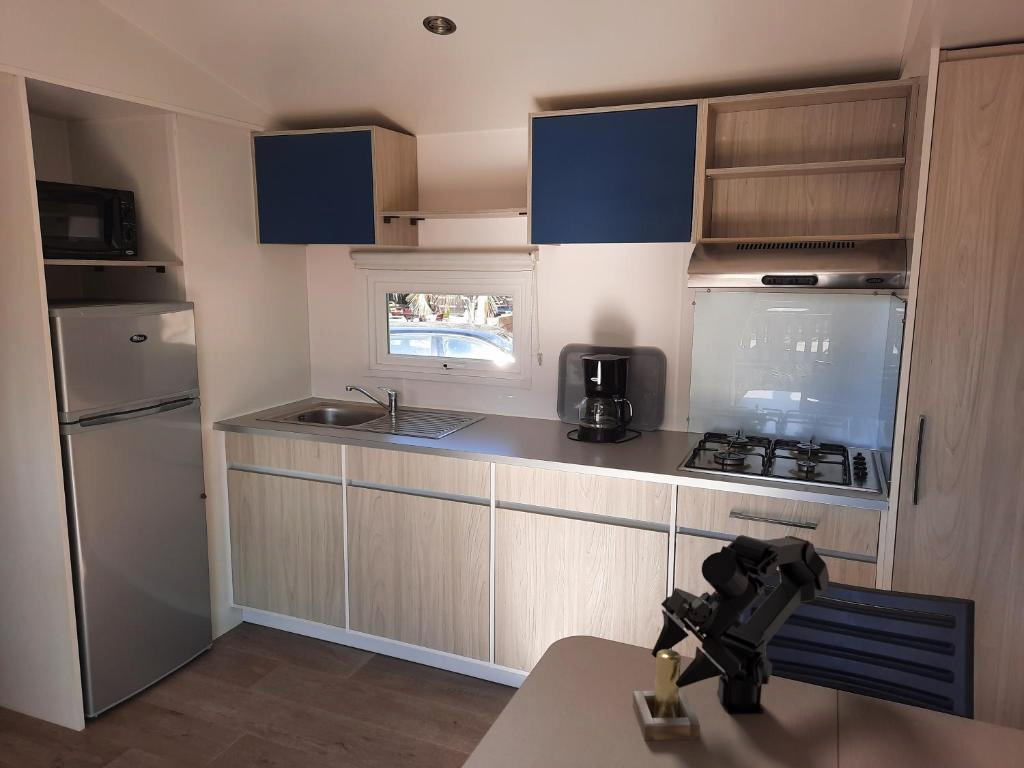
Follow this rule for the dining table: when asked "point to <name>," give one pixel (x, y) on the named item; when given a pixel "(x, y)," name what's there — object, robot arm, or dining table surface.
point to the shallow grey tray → (665, 727)
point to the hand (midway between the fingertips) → (664, 670)
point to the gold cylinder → (667, 684)
